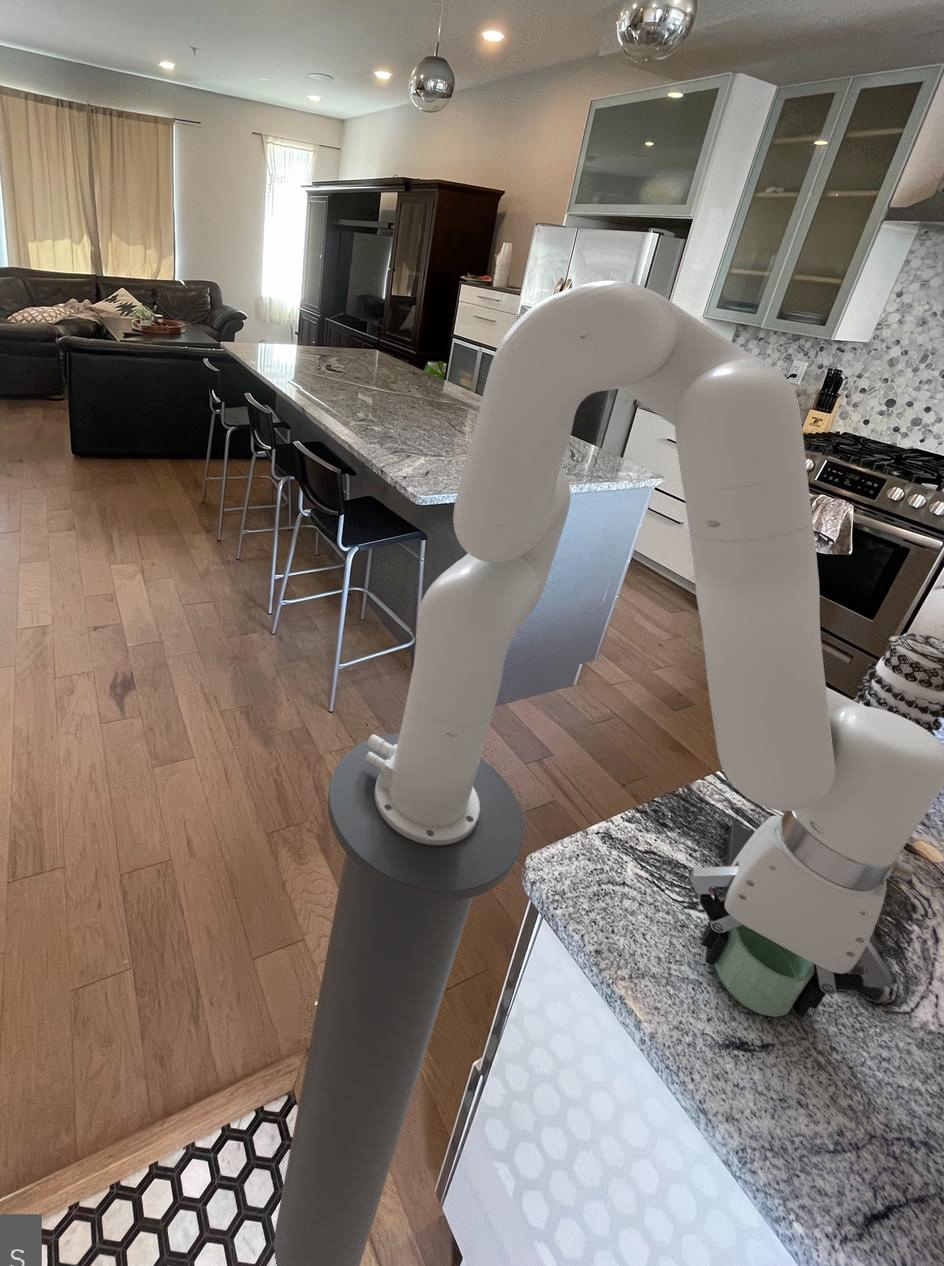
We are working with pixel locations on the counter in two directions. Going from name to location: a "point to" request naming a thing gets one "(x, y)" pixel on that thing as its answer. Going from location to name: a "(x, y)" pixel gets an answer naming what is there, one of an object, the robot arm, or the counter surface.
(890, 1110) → the counter surface
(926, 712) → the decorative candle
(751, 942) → the bowl
